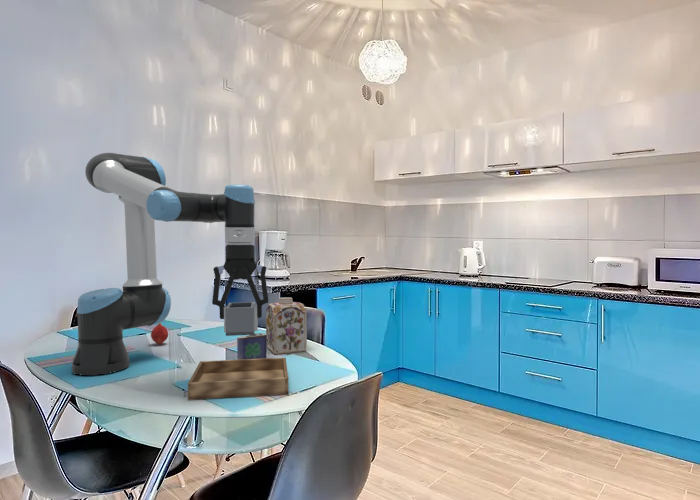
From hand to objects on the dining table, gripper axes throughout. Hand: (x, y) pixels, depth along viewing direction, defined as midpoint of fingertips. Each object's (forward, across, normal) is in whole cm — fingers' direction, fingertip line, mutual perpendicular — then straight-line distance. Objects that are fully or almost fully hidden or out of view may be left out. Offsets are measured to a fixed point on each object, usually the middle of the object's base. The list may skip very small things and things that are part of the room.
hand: (241, 330), depth 123 cm
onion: (+14, -32, +51) cm, 62 cm away
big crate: (+14, 0, 0) cm, 14 cm away
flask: (+15, +2, +19) cm, 24 cm away
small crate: (0, 0, 0) cm, 0 cm away
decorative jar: (+15, +13, +36) cm, 41 cm away
